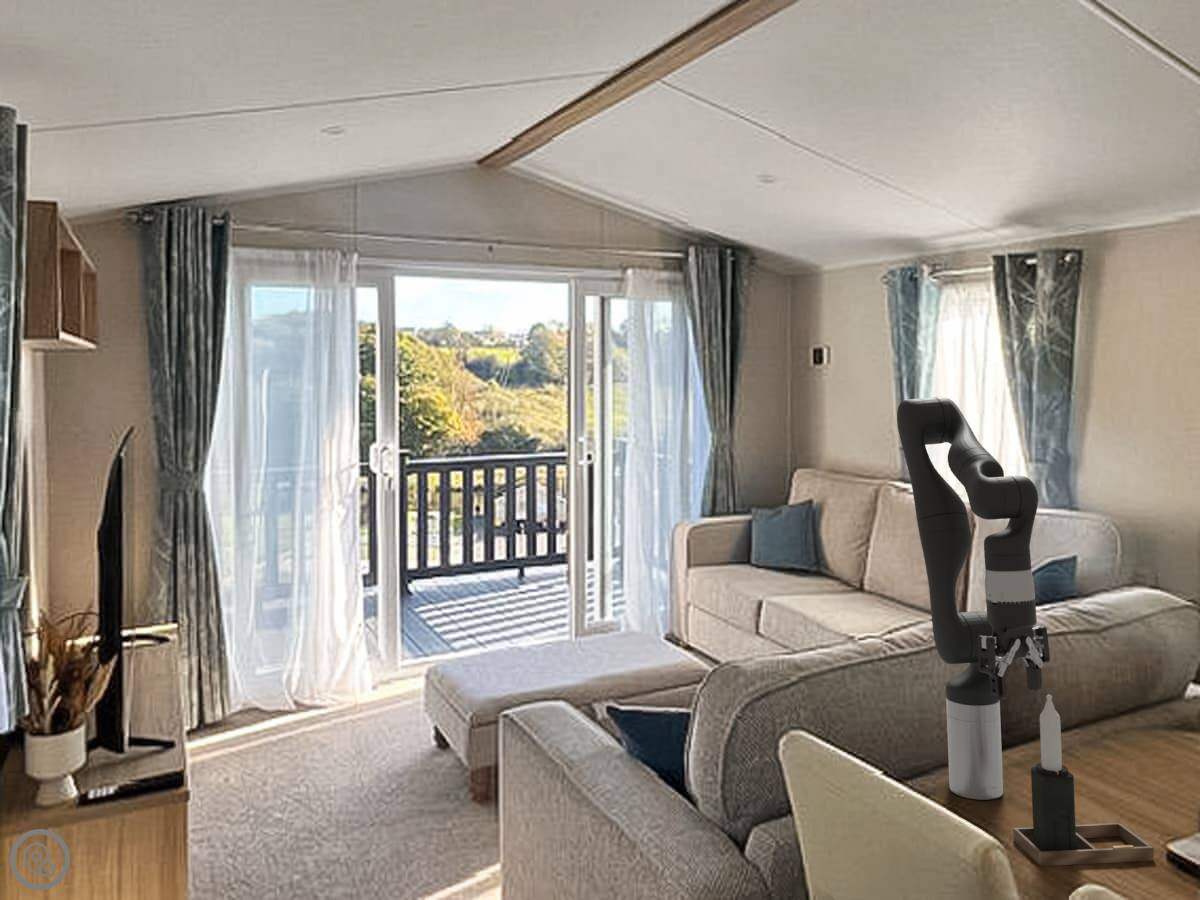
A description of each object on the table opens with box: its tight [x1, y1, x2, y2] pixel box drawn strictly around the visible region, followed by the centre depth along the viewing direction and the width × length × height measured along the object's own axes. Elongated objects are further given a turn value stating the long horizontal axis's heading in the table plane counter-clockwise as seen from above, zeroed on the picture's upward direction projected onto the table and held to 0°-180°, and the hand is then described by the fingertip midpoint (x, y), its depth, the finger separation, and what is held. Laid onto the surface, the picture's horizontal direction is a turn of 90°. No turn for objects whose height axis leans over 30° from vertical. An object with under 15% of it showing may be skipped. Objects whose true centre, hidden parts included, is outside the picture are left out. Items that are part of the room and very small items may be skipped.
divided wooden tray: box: [1012, 822, 1155, 867], centre depth 146 cm, size 18×9×2 cm, turn 91°
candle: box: [1030, 694, 1077, 852], centre depth 145 cm, size 5×5×25 cm
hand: (1016, 693), depth 153 cm, fingers open, 8 cm apart
